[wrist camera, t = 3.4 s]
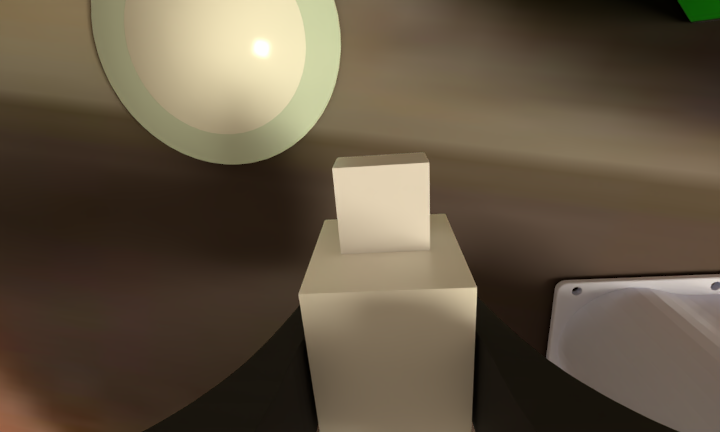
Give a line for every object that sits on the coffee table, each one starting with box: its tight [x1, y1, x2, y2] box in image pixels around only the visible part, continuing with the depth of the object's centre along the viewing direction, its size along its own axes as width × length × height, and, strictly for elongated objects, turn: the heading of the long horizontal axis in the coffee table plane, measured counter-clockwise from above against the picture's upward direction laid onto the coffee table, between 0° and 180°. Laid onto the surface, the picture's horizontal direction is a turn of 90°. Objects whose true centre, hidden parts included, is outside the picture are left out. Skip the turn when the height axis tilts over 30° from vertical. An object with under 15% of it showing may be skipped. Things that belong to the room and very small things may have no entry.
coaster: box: [91, 0, 341, 164], centre depth 17 cm, size 11×11×1 cm
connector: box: [298, 152, 477, 432], centre depth 11 cm, size 8×4×4 cm, turn 4°
